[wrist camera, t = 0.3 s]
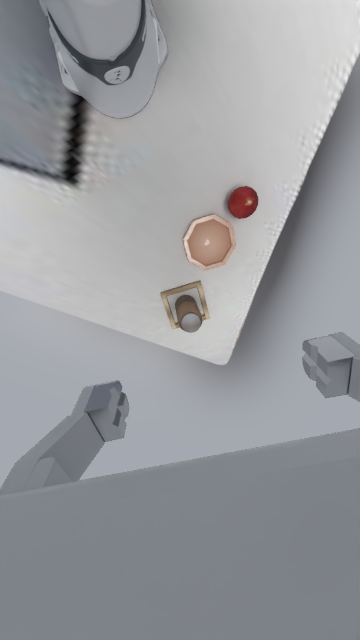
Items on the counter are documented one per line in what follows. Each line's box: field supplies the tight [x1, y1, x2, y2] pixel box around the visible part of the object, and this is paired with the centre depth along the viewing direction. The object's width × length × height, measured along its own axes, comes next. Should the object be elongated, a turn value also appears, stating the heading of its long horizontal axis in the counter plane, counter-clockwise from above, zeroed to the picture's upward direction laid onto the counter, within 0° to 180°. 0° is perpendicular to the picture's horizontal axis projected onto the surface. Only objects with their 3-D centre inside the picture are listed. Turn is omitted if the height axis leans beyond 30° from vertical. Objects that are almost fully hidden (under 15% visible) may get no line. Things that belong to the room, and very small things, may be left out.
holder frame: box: [161, 281, 210, 329], centre depth 59 cm, size 10×10×1 cm
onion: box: [228, 186, 258, 219], centre depth 48 cm, size 6×6×8 cm
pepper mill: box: [175, 295, 202, 332], centre depth 54 cm, size 5×5×12 cm
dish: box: [183, 214, 236, 270], centre depth 53 cm, size 11×11×2 cm
